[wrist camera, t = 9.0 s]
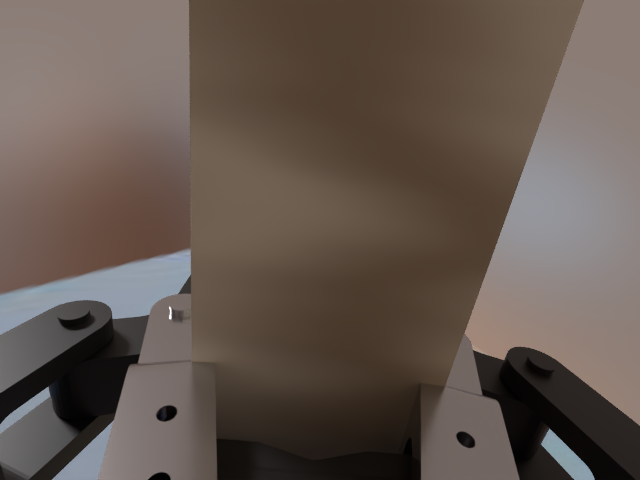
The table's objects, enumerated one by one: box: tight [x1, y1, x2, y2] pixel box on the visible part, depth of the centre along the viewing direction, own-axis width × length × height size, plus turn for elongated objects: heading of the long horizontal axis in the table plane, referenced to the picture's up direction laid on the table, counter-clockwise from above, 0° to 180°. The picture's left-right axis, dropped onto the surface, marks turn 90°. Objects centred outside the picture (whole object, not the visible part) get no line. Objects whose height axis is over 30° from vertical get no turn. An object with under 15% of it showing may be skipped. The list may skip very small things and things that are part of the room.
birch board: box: [189, 0, 584, 460], centre depth 10 cm, size 4×7×18 cm, turn 1°
